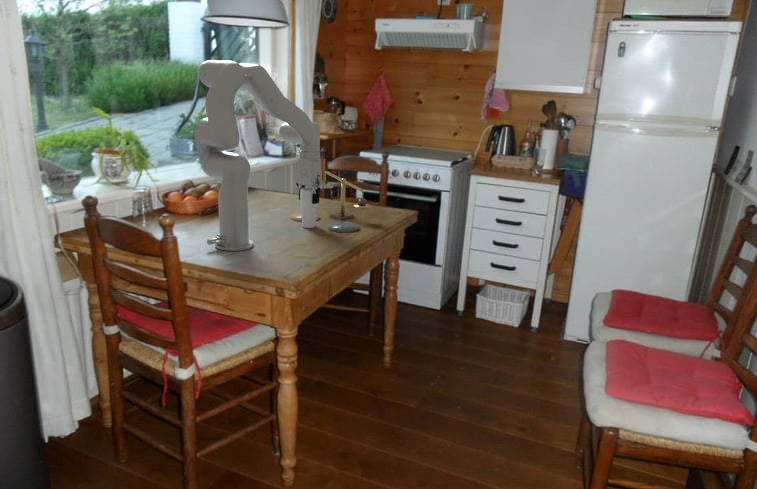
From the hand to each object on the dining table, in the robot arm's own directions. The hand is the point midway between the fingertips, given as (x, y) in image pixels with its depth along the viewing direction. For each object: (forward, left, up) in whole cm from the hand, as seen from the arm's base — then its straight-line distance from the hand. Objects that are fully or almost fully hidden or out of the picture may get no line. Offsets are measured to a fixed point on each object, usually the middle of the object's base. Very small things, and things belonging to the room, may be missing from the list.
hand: (309, 201), depth 214 cm
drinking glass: (0, 0, -10) cm, 10 cm away
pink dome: (+8, +11, -10) cm, 17 cm away
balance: (+21, +2, -10) cm, 23 cm away
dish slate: (+9, -10, -10) cm, 17 cm away
